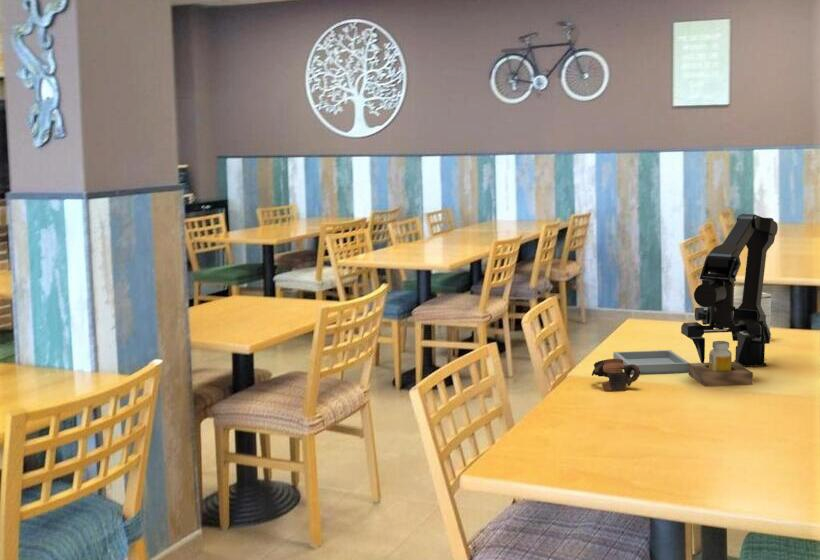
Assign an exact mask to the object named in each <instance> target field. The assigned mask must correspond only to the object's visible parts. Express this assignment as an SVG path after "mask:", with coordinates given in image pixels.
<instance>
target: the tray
mask: <svg viewBox="0 0 820 560" xmlns="http://www.w3.org/2000/svg"><path fill="white" fill-rule="evenodd" d="M612 353H613V356H612V357H613V358H612V359H621V360H623V364H624V365H630V364H634V365H636V366H638V367H639V371H640V372H641V373H640V375H659V374H660V375H661V374H662V375H663V374H689V363H690V362H689V361H687V360H686V359H684V358H683V357H681V356H680V355H679V354H677V353H675V352H674V351H673V350H671V349H665V350H664V349H662V350H640V351H639V350H637V351H635V350H633V351H632V350H631V351H613V352H612ZM622 371H624V369H623V370H622ZM631 375H632V376H633V375H634V370H632V371H631V373H630V376H631Z"/></svg>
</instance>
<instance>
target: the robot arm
mask: <svg viewBox="0 0 820 560" xmlns="http://www.w3.org/2000/svg"><path fill="white" fill-rule="evenodd" d="M778 231H779V230H778V222H777V221H775V220H774V219H773V217H763V216H761V215H757V214H753V213H751V214H749V213H741V214H739V215H738V216H737V218H736V222H735V224H734V226H733V227H732V228H731V230H730V232H729V233H728V235H727V236H726V238H725V239H724V241H723V243H721V244H719V245H716V246H714V247H713V248H712V250H710V251H709V252H708V253H707V256H706V257H705V258H704V259H705V260H704V263H703V266H702V269H701V273H700V275H699V279H700V280H701V284H699V285H698V286H696V288H695V289H694V292H693V298H694V301H695V302H696V304H698V306H700V307H695V308H694V320H695V321H696V322H695V321H694V322H683V323H682V325H681V327H680V333H681V334H682V335H683V336H685V337H687V338H689V339H690V340H692V342H693V344H694V346H695V348H696V352H697V354H698V358H699V361H700V363H705V358H706V357H705V351H706V350H705V349H706V338H705V337H703V335H704V334H712V333H713V334H714V333H715V334H717V333H731V337H732V342H737V345H736V346H735V359H734V362H736V363H738V364H739V365H741V366H743V367H758V366H759V367H764V366H768V363H767V362H765V354H766V353H765V349H766V345H767V344H770V342H771V336H772V335H771V334H772V333H771V330H770V331H769V328H768V326H767V324H766V315H765V313H764V311H763V309H762V307H761V297H762V293H763V289H764V288H763V285H764V279H765V276H764V275H765V271H766V270H765V269H766V260H767V252H768V250H769V249H770V248H771V247H772V245H773V244H774V243H775V239H776V236H777V234H778ZM745 247H746V248H747V254H746V262H745V263H746V264H745V272H744V273H745V275H744V280H743V281H744V283H743V291H742V300H741V304H740V305H739V306H738V307H737V308H736V306H735V305H734V302H735V301H734V300H735V282H737V275H738V272H739V270H740V268H741V264H742V263H741V258H740V256H741V254H742V252H743V251H744V248H745ZM705 308H707V309H705ZM697 321H698V322H697ZM699 321H701V323H702V324H701V323H700V322H699ZM760 337H761V338H760Z"/></svg>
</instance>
